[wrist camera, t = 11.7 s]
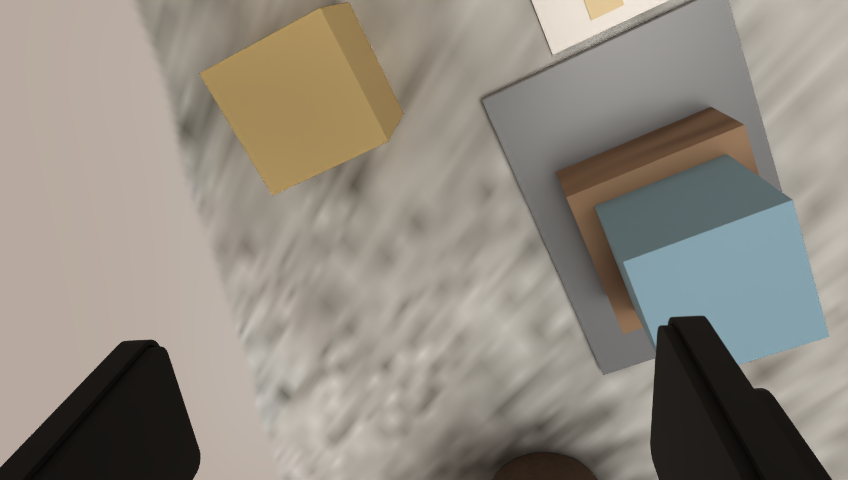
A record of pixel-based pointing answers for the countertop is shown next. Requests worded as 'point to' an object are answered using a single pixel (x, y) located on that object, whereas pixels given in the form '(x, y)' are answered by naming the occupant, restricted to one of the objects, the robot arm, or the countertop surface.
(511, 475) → the plant pot
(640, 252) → the blue brick
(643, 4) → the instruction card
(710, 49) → the grey flat board
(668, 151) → the walnut base brick
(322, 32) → the ochre brick
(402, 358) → the countertop surface
